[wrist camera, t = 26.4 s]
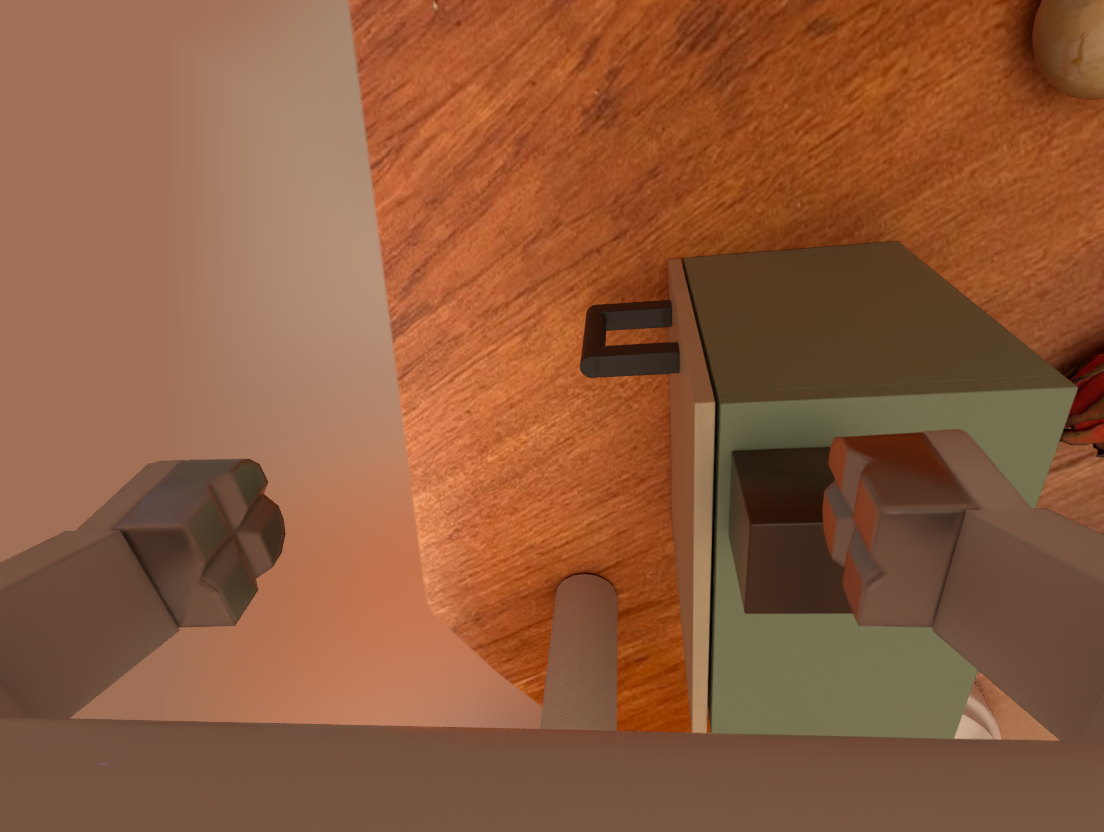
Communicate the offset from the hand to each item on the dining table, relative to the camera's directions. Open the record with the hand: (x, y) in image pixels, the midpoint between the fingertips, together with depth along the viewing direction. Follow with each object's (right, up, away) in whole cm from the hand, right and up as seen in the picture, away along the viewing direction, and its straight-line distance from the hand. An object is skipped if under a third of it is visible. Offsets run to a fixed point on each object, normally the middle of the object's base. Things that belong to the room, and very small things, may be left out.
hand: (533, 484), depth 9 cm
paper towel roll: (+3, -16, +54) cm, 56 cm away
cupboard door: (+7, +2, +42) cm, 42 cm away
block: (+11, -3, +21) cm, 23 cm away
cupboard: (+18, +2, +41) cm, 44 cm away
